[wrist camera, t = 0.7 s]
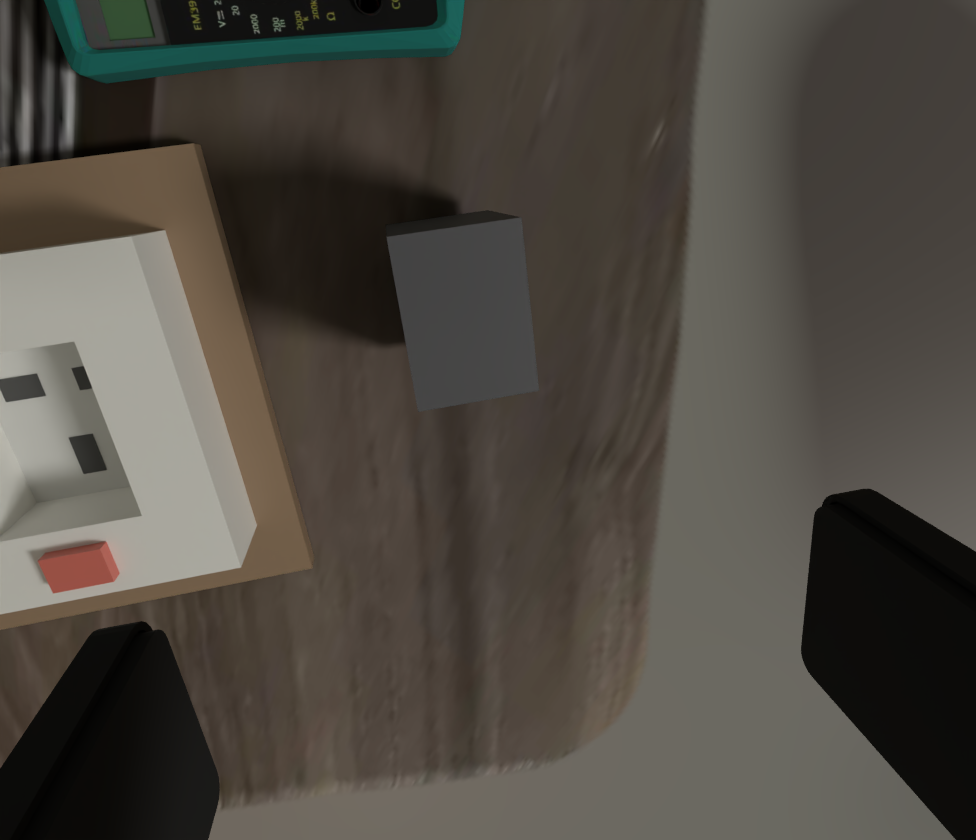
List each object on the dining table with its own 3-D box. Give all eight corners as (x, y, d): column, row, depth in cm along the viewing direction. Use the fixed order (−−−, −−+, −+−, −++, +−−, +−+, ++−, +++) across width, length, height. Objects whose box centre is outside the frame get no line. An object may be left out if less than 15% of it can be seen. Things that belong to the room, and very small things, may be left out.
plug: (385, 223, 27) (386, 237, 19) (483, 209, 27) (521, 217, 20) (409, 353, 29) (418, 411, 22) (499, 339, 30) (538, 390, 22)
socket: (-233, 199, 23) (-394, 202, 18) (200, 145, 25) (156, 134, 20) (-8, 620, 31) (-81, 700, 26) (314, 557, 32) (302, 621, 27)
